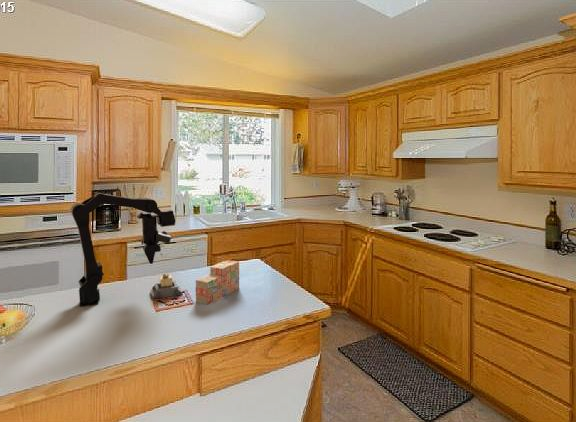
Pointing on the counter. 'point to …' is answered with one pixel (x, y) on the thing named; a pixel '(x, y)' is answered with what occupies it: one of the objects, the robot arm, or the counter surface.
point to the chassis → (165, 291)
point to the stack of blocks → (218, 282)
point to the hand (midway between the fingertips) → (151, 263)
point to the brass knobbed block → (165, 281)
